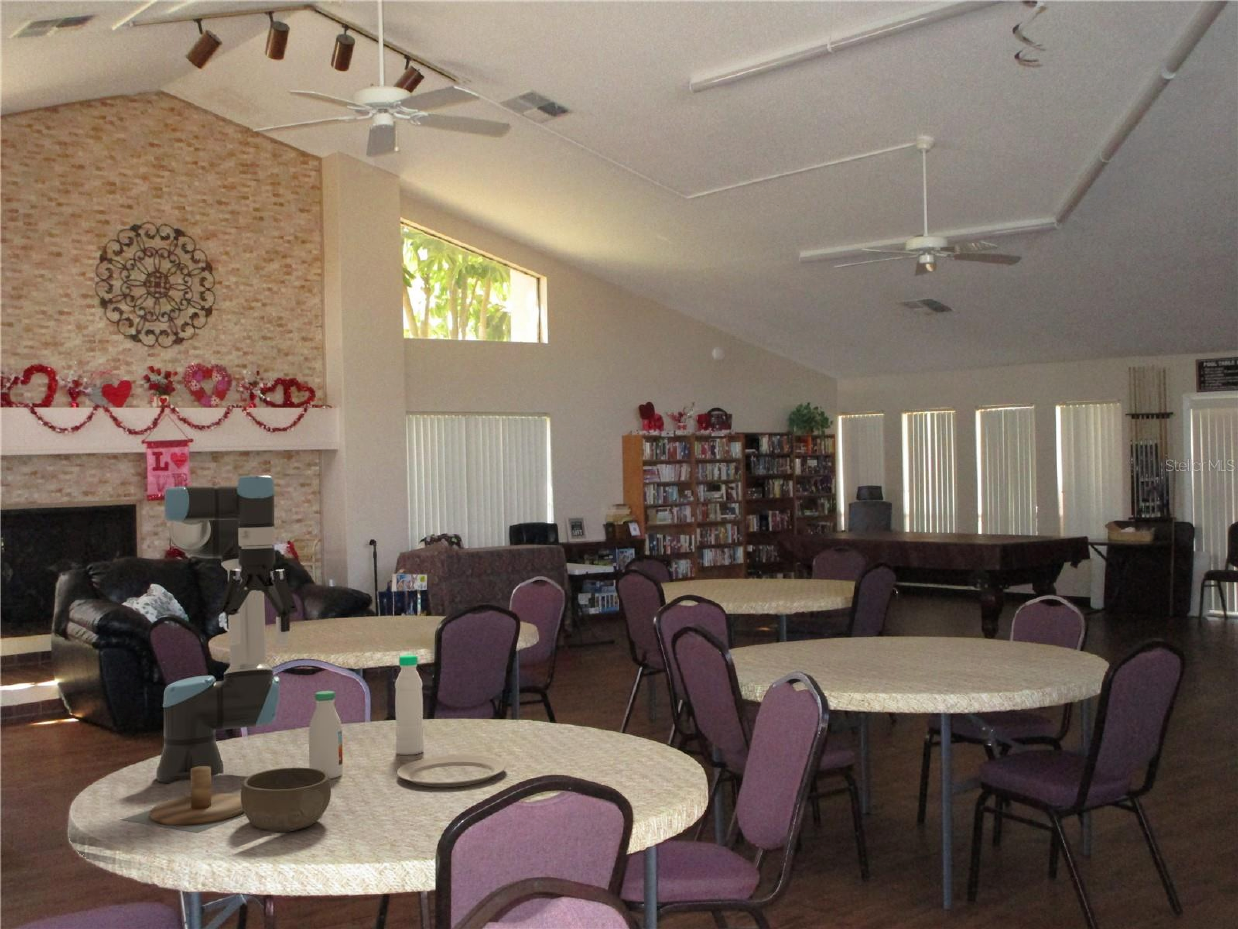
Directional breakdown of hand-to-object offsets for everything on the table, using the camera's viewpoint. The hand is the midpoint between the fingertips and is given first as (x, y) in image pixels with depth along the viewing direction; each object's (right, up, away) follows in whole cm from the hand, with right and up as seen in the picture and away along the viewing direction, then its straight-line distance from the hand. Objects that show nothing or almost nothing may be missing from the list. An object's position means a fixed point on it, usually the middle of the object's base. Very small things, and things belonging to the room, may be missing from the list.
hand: (258, 646), depth 237 cm
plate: (+38, -35, +25) cm, 57 cm away
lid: (-11, -34, -4) cm, 36 cm away
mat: (-11, -35, -4) cm, 37 cm away
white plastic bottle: (+23, -36, +49) cm, 65 cm away
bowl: (+10, -35, -13) cm, 38 cm away
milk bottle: (+8, -36, +27) cm, 45 cm away
